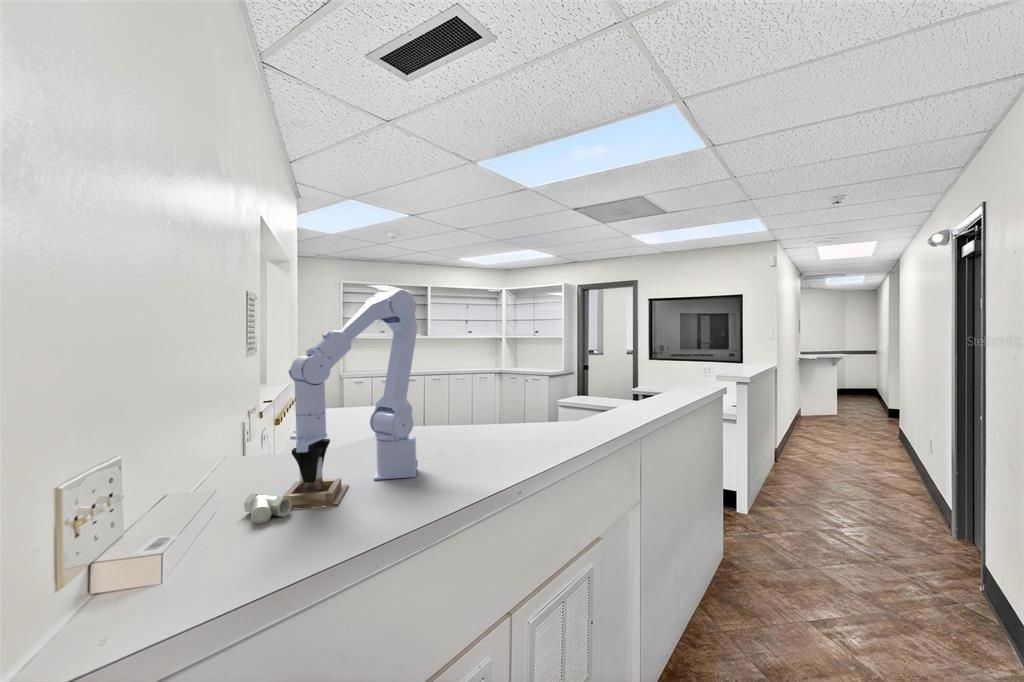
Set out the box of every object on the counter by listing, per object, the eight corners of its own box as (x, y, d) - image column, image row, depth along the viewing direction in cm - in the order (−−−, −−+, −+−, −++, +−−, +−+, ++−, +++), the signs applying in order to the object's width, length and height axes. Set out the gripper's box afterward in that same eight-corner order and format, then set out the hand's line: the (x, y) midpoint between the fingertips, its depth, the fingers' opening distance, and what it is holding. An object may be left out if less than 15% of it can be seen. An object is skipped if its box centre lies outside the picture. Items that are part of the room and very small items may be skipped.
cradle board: (348, 488, 105) (348, 476, 105) (337, 508, 93) (337, 494, 93) (291, 492, 103) (291, 480, 103) (273, 513, 91) (272, 499, 91)
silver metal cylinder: (325, 483, 100) (324, 455, 100) (318, 490, 96) (318, 461, 96) (304, 484, 100) (303, 456, 100) (296, 491, 96) (295, 462, 95)
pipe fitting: (264, 529, 84) (292, 512, 90) (262, 508, 84) (290, 493, 90) (230, 525, 86) (259, 508, 93) (227, 504, 86) (257, 489, 92)
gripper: (300, 408, 104) (302, 469, 104) (278, 420, 90) (280, 491, 90) (333, 407, 105) (335, 467, 106) (317, 419, 91) (319, 488, 91)
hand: (312, 478), depth 98 cm, fingers closed on silver metal cylinder, 4 cm apart
